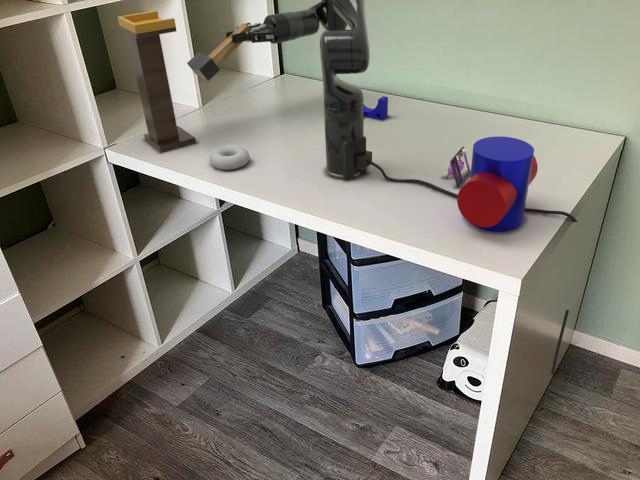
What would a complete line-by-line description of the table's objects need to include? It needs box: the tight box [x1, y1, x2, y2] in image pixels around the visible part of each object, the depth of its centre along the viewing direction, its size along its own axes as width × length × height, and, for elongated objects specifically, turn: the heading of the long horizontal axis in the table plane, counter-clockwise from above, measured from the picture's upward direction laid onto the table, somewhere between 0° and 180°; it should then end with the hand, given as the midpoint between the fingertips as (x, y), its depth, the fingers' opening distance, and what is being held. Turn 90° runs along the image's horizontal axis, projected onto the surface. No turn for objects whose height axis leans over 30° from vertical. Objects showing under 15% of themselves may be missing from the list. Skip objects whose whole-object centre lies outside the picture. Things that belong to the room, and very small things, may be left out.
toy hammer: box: [186, 23, 250, 82], centre depth 167 cm, size 8×18×4 cm, turn 128°
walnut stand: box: [118, 24, 197, 153], centre depth 161 cm, size 11×10×30 cm
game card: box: [444, 146, 471, 188], centre depth 148 cm, size 7×5×9 cm
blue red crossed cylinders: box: [456, 135, 539, 233], centre depth 129 cm, size 20×12×16 cm, turn 149°
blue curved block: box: [364, 95, 389, 121], centre depth 182 cm, size 12×4×6 cm, turn 57°
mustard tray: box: [117, 10, 177, 34], centre depth 152 cm, size 11×10×2 cm
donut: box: [208, 144, 251, 171], centre depth 157 cm, size 10×4×10 cm
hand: (229, 37), depth 167 cm, fingers closed on toy hammer, 2 cm apart
